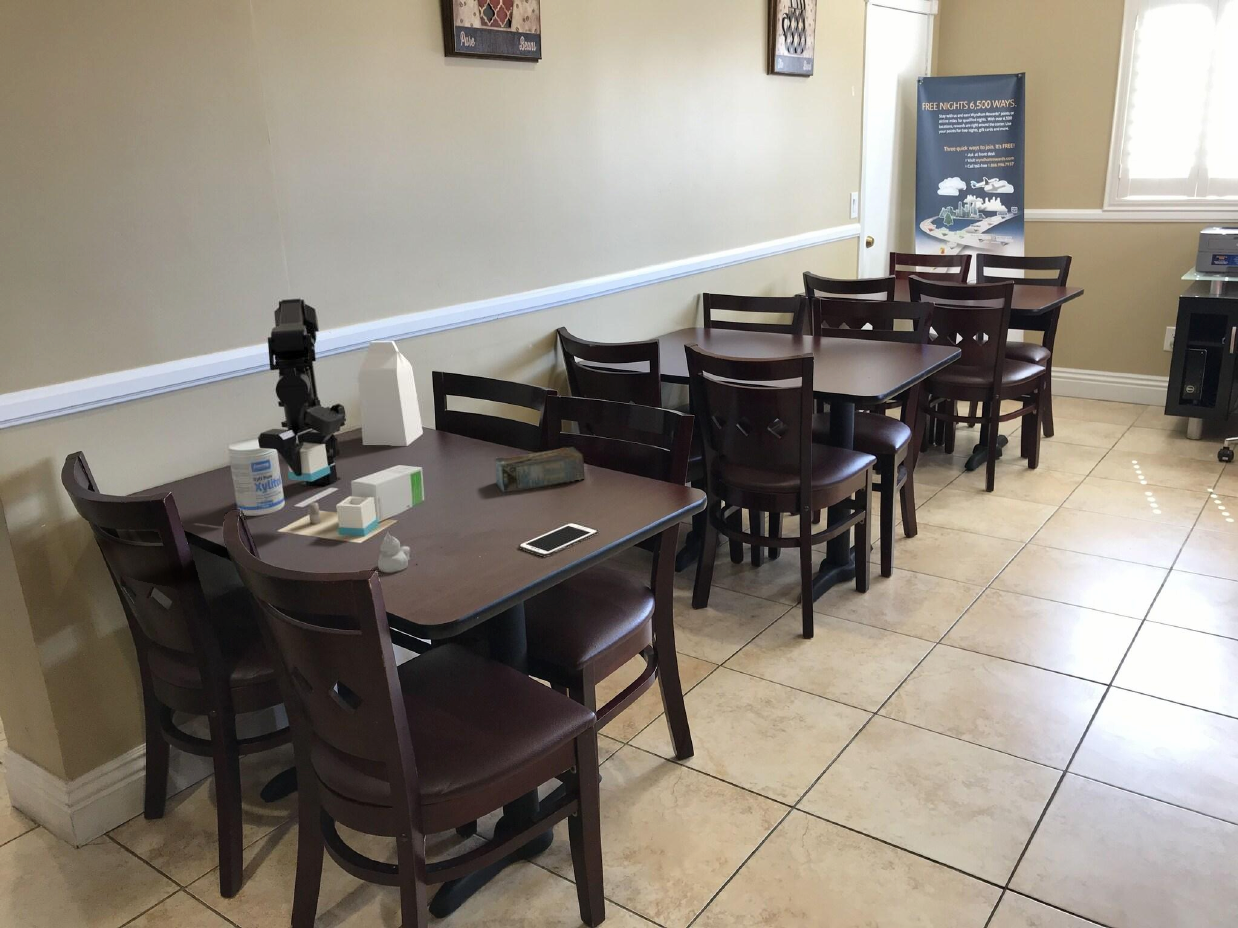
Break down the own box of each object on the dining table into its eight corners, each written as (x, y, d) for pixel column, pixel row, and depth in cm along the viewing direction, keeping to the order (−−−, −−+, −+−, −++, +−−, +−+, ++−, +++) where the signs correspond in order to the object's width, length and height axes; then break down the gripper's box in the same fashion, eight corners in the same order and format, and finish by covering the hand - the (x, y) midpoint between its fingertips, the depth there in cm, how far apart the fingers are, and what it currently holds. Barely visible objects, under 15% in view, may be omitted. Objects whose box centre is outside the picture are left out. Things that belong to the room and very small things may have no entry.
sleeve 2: (338, 534, 185) (334, 505, 183) (353, 523, 190) (349, 495, 188) (364, 536, 184) (361, 507, 182) (378, 525, 189) (375, 497, 187)
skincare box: (425, 503, 203) (379, 525, 189) (399, 500, 205) (352, 521, 192) (422, 465, 201) (375, 484, 187) (396, 462, 203) (348, 481, 190)
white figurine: (371, 574, 169) (366, 532, 167) (400, 561, 174) (395, 520, 171) (391, 581, 166) (386, 538, 163) (420, 568, 171) (415, 526, 168)
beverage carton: (495, 482, 215) (492, 455, 213) (576, 471, 221) (575, 443, 219) (502, 493, 208) (500, 465, 206) (586, 481, 213) (585, 453, 211)
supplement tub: (266, 519, 198) (255, 451, 193) (228, 516, 200) (216, 449, 196) (295, 503, 206) (284, 438, 202) (258, 500, 209) (247, 436, 205)
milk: (363, 445, 247) (350, 346, 239) (380, 433, 258) (369, 337, 249) (407, 446, 245) (395, 345, 237) (423, 433, 255) (412, 337, 247)
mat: (294, 507, 204) (293, 505, 204) (330, 489, 214) (330, 487, 214) (339, 513, 199) (339, 511, 199) (374, 494, 210) (374, 492, 210)
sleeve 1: (288, 479, 187) (284, 449, 186) (307, 470, 192) (303, 442, 191) (311, 481, 185) (307, 451, 184) (330, 472, 190) (326, 444, 188)
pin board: (277, 535, 188) (274, 512, 187) (318, 514, 199) (314, 492, 197) (360, 547, 181) (357, 523, 179) (398, 525, 191) (395, 501, 190)
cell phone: (600, 534, 183) (600, 530, 183) (545, 559, 173) (544, 554, 173) (572, 526, 188) (571, 521, 188) (516, 550, 178) (516, 545, 178)
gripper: (297, 408, 173) (310, 489, 177) (361, 385, 189) (371, 460, 194) (250, 405, 177) (263, 484, 182) (316, 383, 193) (327, 456, 198)
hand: (308, 471), depth 189 cm, fingers closed on sleeve 1, 6 cm apart
